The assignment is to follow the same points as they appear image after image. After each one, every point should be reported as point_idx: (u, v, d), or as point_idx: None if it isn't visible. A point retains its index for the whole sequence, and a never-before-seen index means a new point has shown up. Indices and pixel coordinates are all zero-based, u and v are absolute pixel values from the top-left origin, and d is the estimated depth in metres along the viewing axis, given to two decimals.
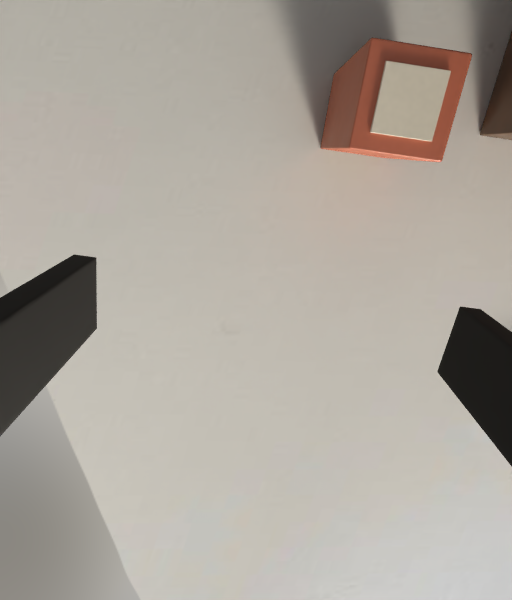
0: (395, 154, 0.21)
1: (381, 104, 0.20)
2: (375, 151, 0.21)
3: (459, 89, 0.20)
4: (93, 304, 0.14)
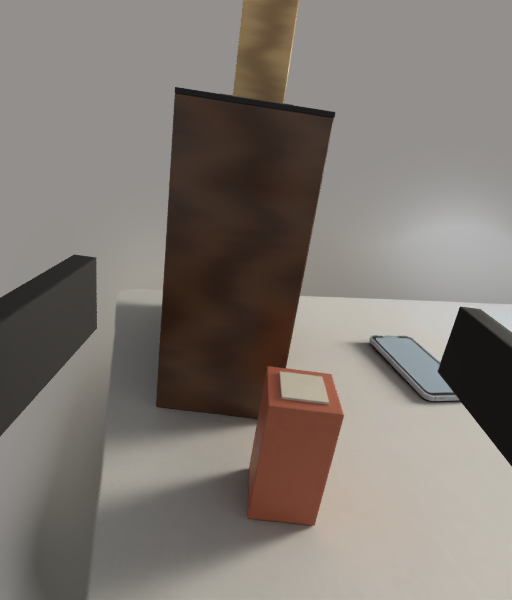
0: (336, 393, 0.28)
1: (309, 397, 0.27)
2: (339, 402, 0.27)
3: (287, 369, 0.30)
4: (93, 304, 0.14)
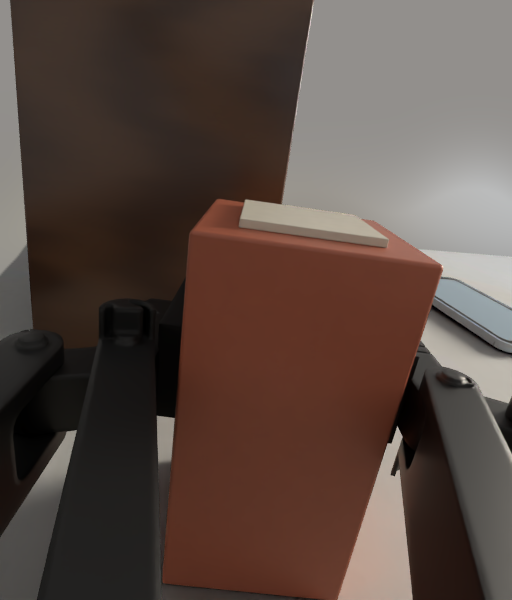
0: (400, 239, 0.10)
1: (327, 228, 0.09)
2: (416, 249, 0.09)
3: None
4: None
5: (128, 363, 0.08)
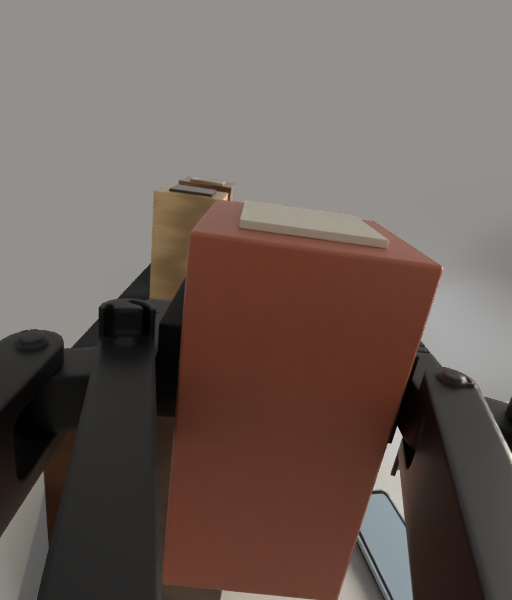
0: (400, 240, 0.10)
1: (327, 228, 0.09)
2: (416, 249, 0.09)
3: None
4: None
5: (128, 363, 0.08)
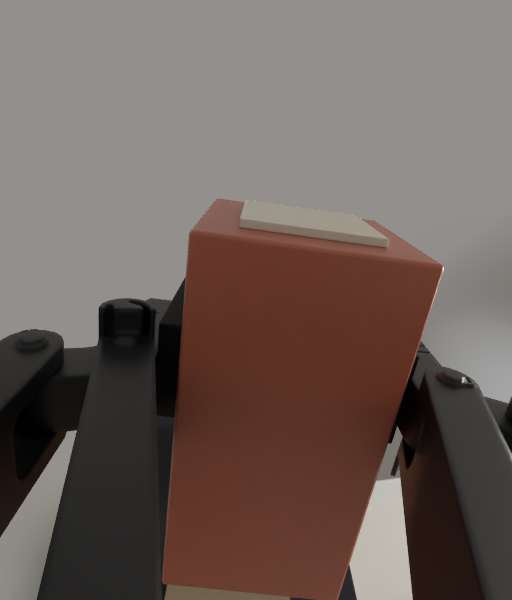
0: (401, 239, 0.10)
1: (327, 228, 0.09)
2: (416, 249, 0.09)
3: None
4: None
5: (128, 363, 0.08)
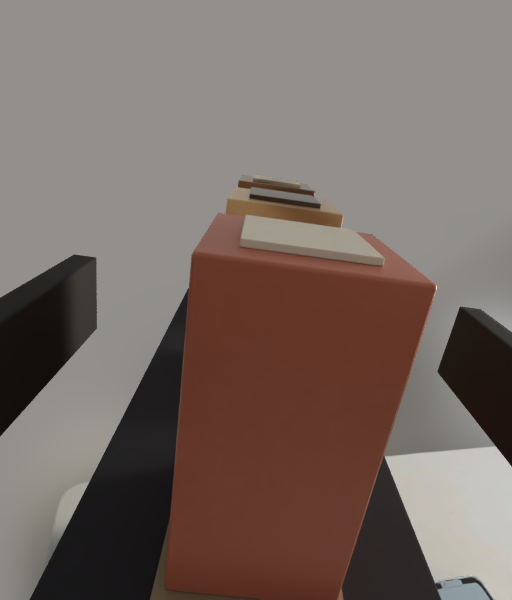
0: None
1: (325, 247, 0.09)
2: (411, 266, 0.09)
3: None
4: (93, 304, 0.14)
5: None
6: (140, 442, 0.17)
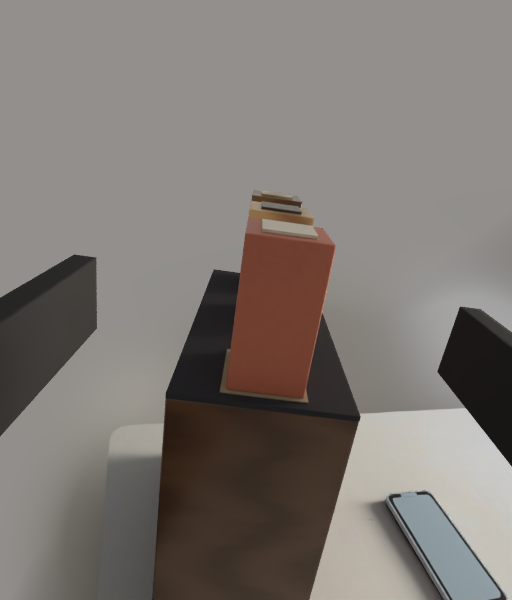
0: (328, 236, 0.24)
1: (295, 232, 0.23)
2: (331, 240, 0.23)
3: None
4: (93, 304, 0.14)
5: None
6: (201, 343, 0.30)
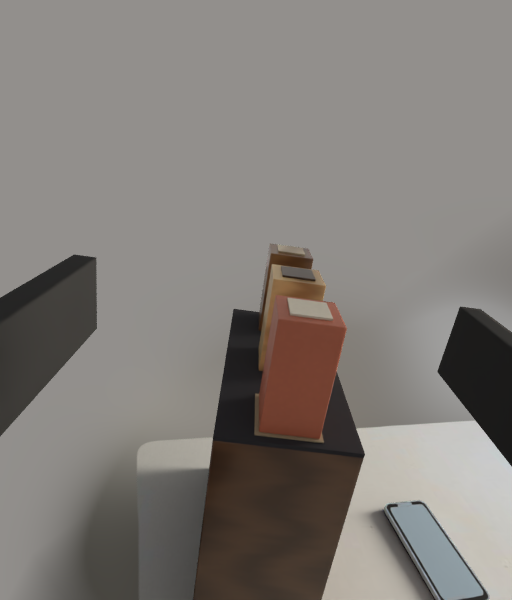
0: (339, 314, 0.31)
1: (315, 315, 0.29)
2: (342, 320, 0.30)
3: (294, 297, 0.33)
4: (93, 304, 0.14)
5: None
6: (234, 388, 0.37)
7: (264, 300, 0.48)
